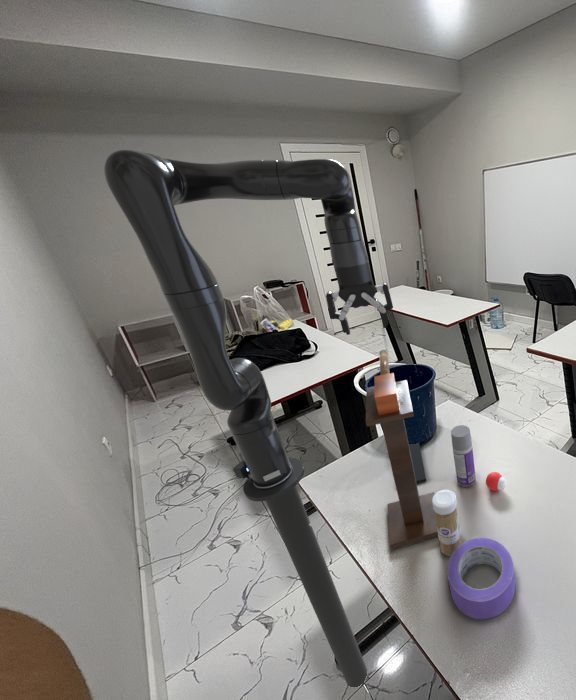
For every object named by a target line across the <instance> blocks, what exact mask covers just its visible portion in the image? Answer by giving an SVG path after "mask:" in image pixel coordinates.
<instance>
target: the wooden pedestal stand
mask: <svg viewBox="0 0 576 700" xmlns="http://www.w3.org/2000/svg"><path fill="white" fill-rule="evenodd" d="M395 382H396V387H397V394H398V401H399V409H400V411H398V412H393V413H388V414H384V415H379V414H378V410H377V406H376V401H375V385H374V386H369V387H366V393H365V394H366V395H365V397H366V398H365V425H366V427H371V426H375V425H381V428H382V434H383V436H384V441H385V446H386V450H387V455H388V459H389V462H390V467H391V471H392V476H393V480H394V485H395V488H396V493H397V497H398V501H394V502H390V503H387V505H386V506H387V524H388V542H389V544H388V545H389V548H390V550H391V551H394V550H396V549H400V548H404V547H407V546H412V545H414V544H417V543H418V544H419V543H421V542H424V541H428V540H432V539H435V538H439V537H438V531H437V523H436V517H435V511H434V509H433V505H432V498H433V496H434V495H435V494H436V492H435V491H433V492H432V491H431V492H429V493H425V494H421V495H420V493H419V489H418V483H416V478H415V473H414V468H413V463H412V458H411V453H410V448H409V438H408V432H407V428H406V423H405V419H408V418H413V417H414V416H415V414H414V410H413V404H412V400H411V394H410V388H409V384H408V379H404V380H399V381H395Z"/></svg>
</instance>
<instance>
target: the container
mask: <svg viewBox="0 0 576 700" xmlns="http://www.w3.org/2000/svg"><path fill="white" fill-rule="evenodd" d="M450 436H451V445H452V453H453V460H454V461H453V462H454V466H455V475H456V476H455V477H456V482H457V484H458V486H460V487H463V488H469V487H471V486H473V485H474V484H475V483H476V481H477V477H476V468H475V459H474V457H475V456H474V450H473V442H472V435H471V429H470V427H468V426H467V425H464V424H461V425H456V426H454V427H452V429H451V430H450Z"/></svg>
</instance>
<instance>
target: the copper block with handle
mask: <svg viewBox="0 0 576 700" xmlns="http://www.w3.org/2000/svg"><path fill="white" fill-rule="evenodd" d="M378 356H379V371H380V373H379V375H374V377H373V378H374V386H375V401H376V406H377V410H378V414H379V415H384V414H388V413H393V412H398V411H400V409H399V401H398V394H397V387H396V382H397V381H396V378H395V373H394V372H391V373H390V364H389V363H390V362H389V353H388V351H387V350H386V349H381V350H380V351H379V355H378Z"/></svg>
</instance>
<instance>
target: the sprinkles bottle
mask: <svg viewBox="0 0 576 700" xmlns="http://www.w3.org/2000/svg"><path fill="white" fill-rule="evenodd" d="M432 505H433V509H434V511H435V517H436V523H437V531H438V537H437V538H438V540H439V549H440V551H441V553H442V554H443V555H445V556H447V557H451V555H452V554H453V552H454V551H455V549H456V548H457V547H458V546H459V545H461V544H462V543H463V542H462V538H461V529H460V523H459V515H458V508H457V507H458V502H457V496H456V493H455V492H454V491H452V490H450V489H441V490H439V491H437V492H435V495H434V496H433V498H432Z"/></svg>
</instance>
